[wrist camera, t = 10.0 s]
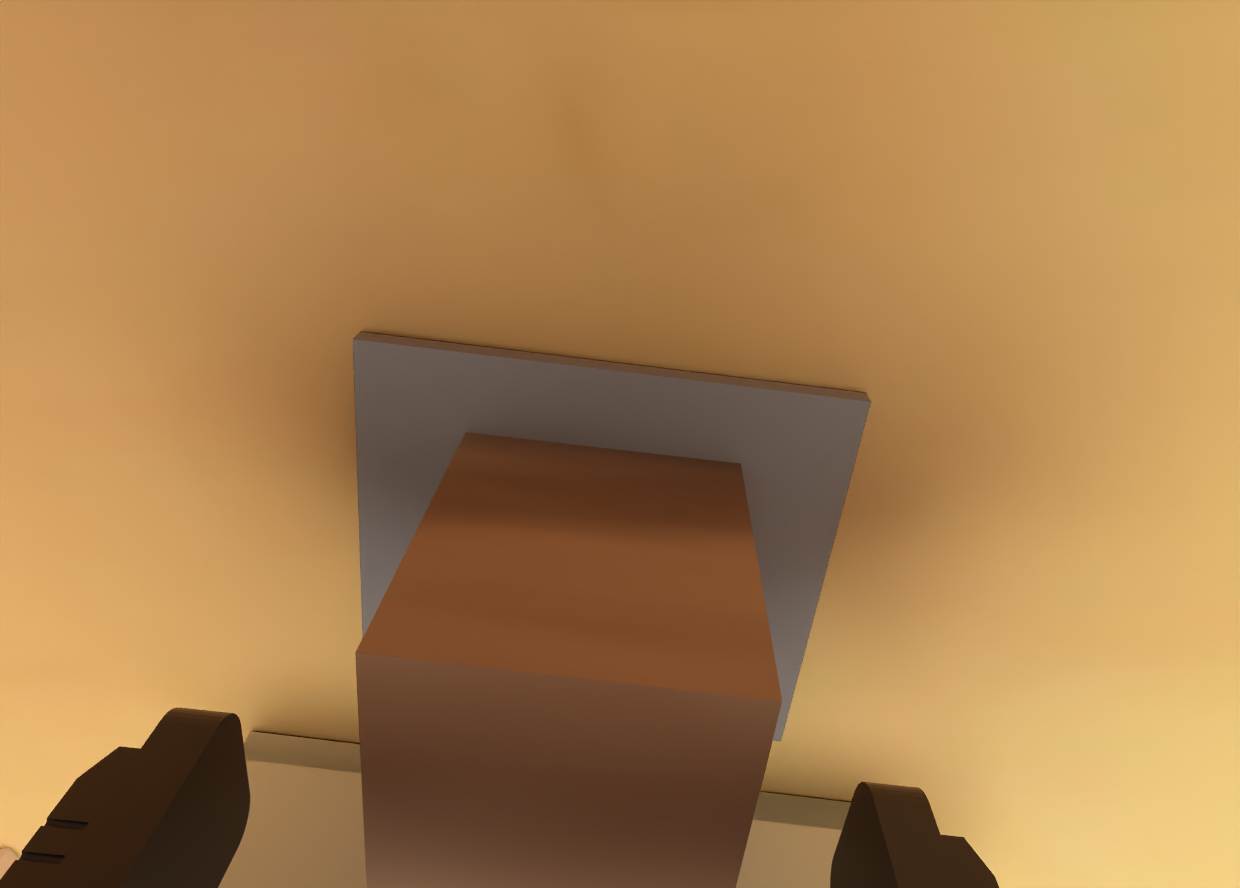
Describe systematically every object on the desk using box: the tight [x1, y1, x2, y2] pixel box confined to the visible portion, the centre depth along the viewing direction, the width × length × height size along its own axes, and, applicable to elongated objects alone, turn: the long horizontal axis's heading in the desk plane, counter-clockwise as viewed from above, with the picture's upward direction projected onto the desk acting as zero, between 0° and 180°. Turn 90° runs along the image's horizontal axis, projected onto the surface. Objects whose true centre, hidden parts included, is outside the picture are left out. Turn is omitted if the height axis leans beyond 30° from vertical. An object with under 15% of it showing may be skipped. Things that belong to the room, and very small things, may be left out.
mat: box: [353, 332, 871, 741], centre depth 16 cm, size 8×9×1 cm
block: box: [356, 432, 782, 888], centre depth 14 cm, size 5×5×6 cm
